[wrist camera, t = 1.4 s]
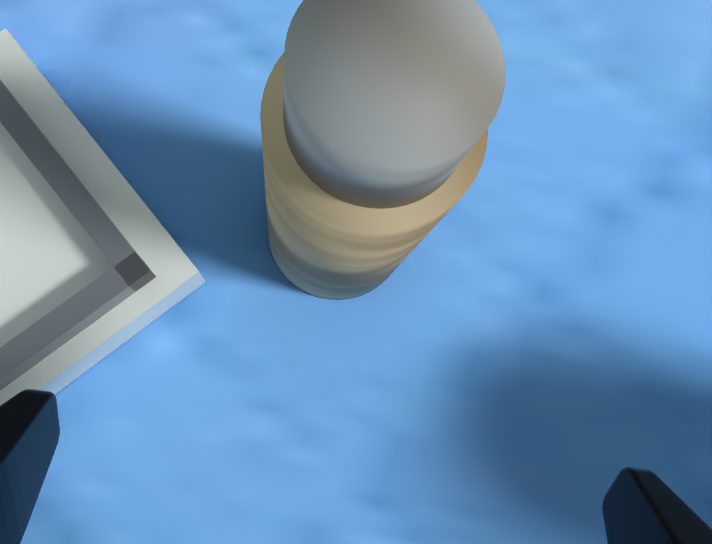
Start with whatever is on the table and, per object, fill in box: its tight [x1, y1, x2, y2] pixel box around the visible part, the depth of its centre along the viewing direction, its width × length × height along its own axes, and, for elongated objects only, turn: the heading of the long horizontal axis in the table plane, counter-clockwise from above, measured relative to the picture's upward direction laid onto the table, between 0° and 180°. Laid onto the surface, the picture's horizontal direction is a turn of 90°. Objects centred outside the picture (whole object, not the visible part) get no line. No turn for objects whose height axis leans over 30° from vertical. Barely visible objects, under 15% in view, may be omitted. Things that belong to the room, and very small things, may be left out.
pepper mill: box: [260, 0, 505, 300], centre depth 18 cm, size 5×5×12 cm
